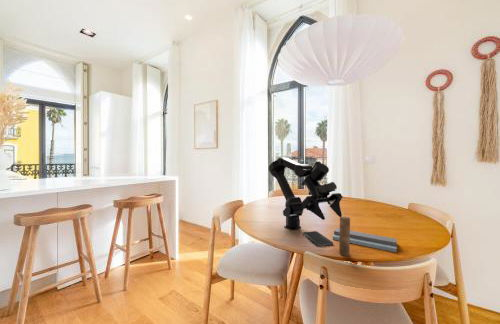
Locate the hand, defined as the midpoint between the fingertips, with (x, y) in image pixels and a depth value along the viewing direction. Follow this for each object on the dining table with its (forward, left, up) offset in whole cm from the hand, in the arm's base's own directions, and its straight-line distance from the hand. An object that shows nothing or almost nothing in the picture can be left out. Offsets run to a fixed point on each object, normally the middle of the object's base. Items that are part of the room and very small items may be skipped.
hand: (332, 217), depth 91 cm
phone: (-9, +3, -13) cm, 16 cm away
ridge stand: (+6, +16, -12) cm, 21 cm away
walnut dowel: (+6, -2, -12) cm, 14 cm away
